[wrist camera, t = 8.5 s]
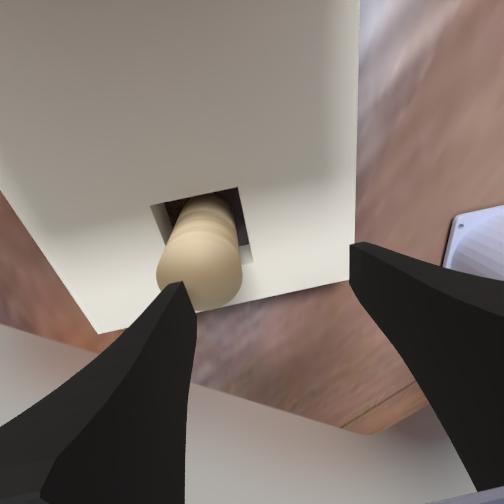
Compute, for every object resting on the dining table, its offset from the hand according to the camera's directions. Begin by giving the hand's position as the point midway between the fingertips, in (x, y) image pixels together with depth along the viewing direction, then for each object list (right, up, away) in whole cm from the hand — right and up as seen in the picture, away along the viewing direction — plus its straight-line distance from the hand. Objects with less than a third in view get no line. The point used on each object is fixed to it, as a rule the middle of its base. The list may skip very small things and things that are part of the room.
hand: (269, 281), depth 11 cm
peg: (-4, +4, +8) cm, 10 cm away
